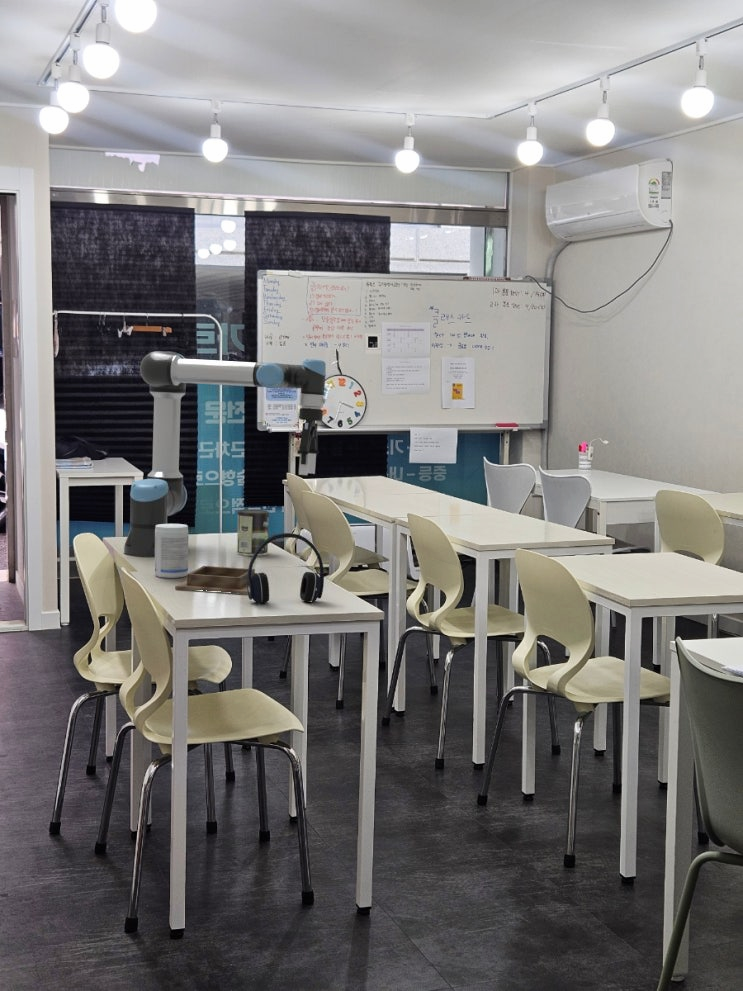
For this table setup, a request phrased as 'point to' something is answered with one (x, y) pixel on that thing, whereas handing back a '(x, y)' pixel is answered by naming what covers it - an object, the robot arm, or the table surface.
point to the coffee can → (252, 532)
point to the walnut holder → (217, 580)
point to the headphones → (310, 580)
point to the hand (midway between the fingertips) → (306, 474)
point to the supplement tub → (171, 550)
